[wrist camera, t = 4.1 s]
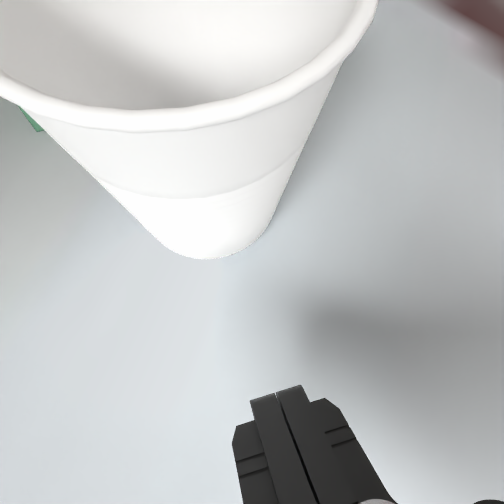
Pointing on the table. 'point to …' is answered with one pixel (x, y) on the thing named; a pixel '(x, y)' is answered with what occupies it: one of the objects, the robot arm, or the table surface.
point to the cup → (181, 101)
